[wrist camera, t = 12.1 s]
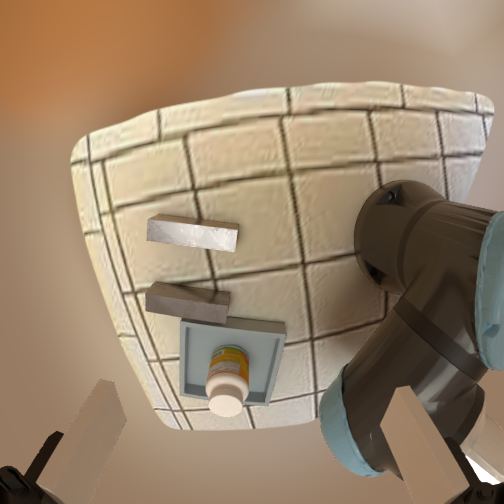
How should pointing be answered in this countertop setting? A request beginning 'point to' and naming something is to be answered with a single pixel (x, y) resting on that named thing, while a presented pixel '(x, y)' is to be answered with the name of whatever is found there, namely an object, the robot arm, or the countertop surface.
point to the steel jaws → (182, 297)
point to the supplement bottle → (228, 381)
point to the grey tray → (236, 334)
